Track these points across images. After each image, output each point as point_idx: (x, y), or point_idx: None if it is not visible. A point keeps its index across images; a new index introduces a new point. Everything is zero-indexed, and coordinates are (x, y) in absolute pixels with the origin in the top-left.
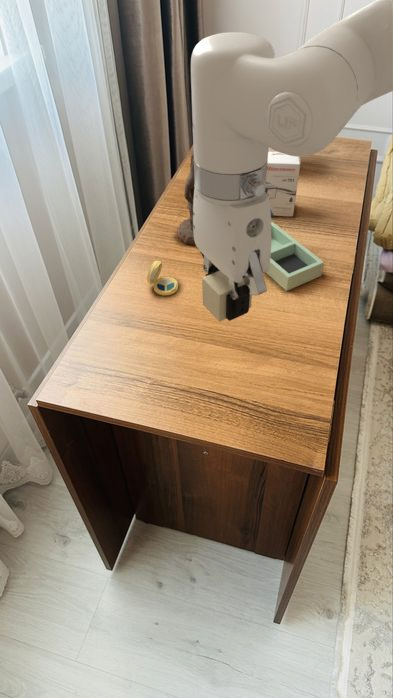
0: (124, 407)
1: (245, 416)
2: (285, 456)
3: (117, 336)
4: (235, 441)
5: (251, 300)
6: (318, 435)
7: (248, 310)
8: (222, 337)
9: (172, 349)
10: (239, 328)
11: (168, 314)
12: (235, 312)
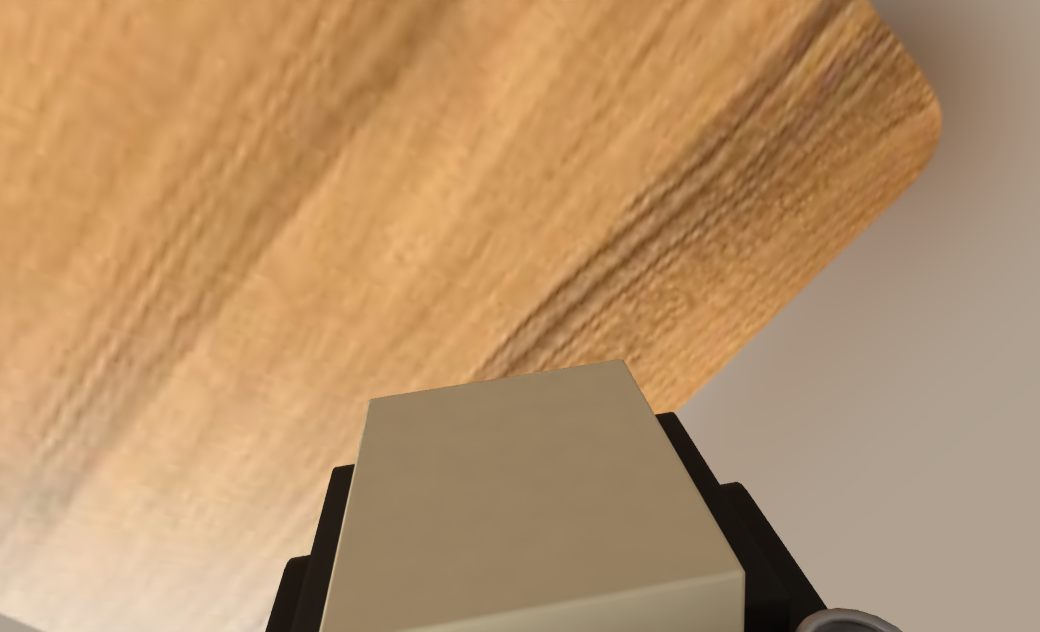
0: None
1: (674, 263)
2: (873, 214)
3: (120, 541)
4: (738, 334)
5: (643, 397)
6: (884, 56)
7: (677, 418)
8: (251, 166)
9: (257, 384)
10: (213, 58)
11: (22, 335)
12: None
